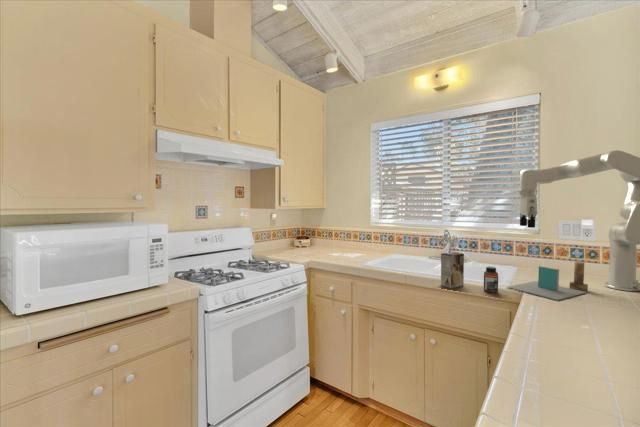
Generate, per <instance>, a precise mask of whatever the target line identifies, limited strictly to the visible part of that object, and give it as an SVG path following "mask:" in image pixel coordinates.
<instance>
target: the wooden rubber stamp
mask: <svg viewBox="0 0 640 427" xmlns="http://www.w3.org/2000/svg"><path fill="white" fill-rule="evenodd" d="M573 270H574V273H573V281H570V282H569V287H568V288H570V289H575V290H579V291H584V292H587V291H588V289H589V284H587V283H584V280H585V278H584V277H585V262H583V261H574V268H573Z"/></svg>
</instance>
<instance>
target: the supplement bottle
mask: <svg viewBox="0 0 640 427" xmlns="http://www.w3.org/2000/svg"><path fill="white" fill-rule="evenodd" d="M483 291H484V292H486V293H491V294H495V293H498V292H499V273H498V272H497V267H496V266H486V269H485V271H484V272H483Z"/></svg>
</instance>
